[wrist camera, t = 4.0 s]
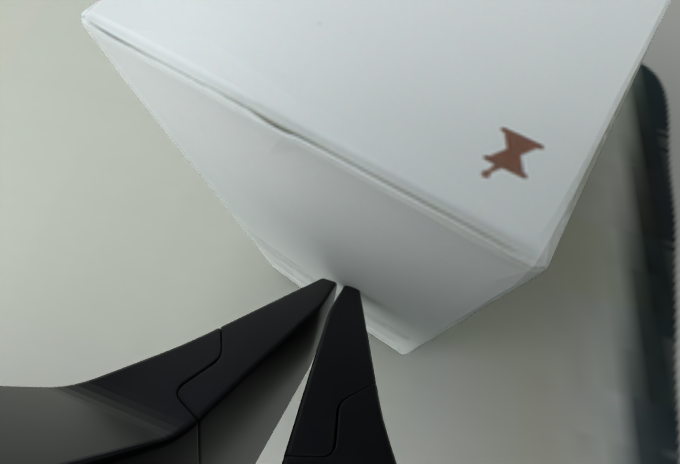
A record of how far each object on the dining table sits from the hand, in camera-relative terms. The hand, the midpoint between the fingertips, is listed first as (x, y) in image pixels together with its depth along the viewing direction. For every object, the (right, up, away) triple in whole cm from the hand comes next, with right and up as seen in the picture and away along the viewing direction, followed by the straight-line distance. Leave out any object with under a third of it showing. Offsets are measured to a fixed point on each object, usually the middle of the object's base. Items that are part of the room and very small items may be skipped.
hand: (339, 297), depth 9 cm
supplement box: (+2, +1, +8) cm, 8 cm away
